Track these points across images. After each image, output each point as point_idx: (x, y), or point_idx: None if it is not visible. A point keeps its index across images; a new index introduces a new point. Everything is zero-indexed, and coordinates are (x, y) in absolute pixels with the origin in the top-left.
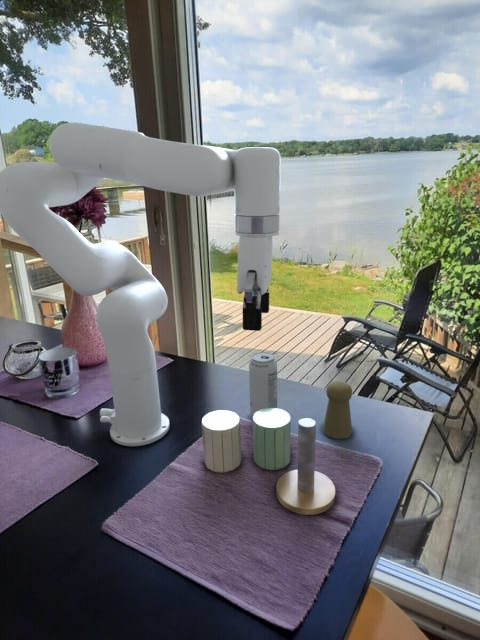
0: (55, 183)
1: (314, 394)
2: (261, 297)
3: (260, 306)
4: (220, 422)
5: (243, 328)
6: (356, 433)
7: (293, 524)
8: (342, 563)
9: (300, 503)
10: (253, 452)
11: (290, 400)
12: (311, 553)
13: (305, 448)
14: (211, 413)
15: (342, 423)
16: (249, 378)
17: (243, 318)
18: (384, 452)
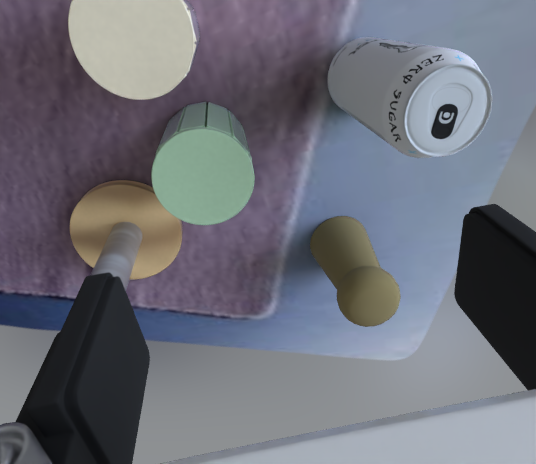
0: None
1: (486, 169)
2: (529, 343)
3: (484, 284)
4: (118, 42)
5: (87, 280)
6: None
7: (46, 228)
8: (14, 302)
9: (81, 236)
10: (185, 109)
11: None
12: (5, 264)
13: None
14: None
15: (323, 270)
16: (397, 49)
17: (64, 333)
18: (289, 318)
